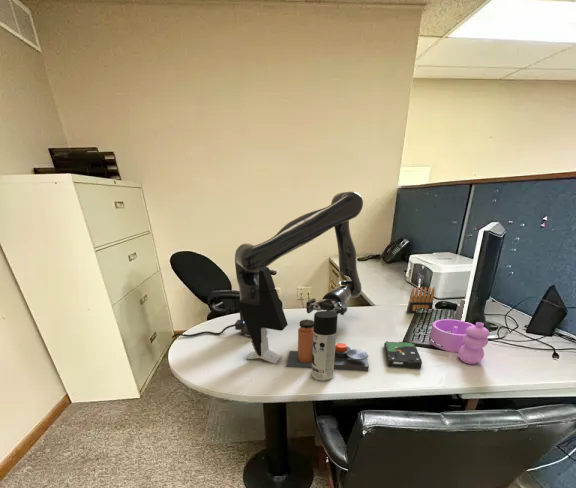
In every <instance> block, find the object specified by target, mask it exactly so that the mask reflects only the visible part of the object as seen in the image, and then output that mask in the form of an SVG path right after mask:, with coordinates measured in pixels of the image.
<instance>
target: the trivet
mask: <svg viewBox="0 0 576 488" xmlns="http://www.w3.org/2000/svg"><path fill="white" fill-rule="evenodd" d="M286 368H299V369H301V368H302V369H312V362H309V363H304V362H301V361H299V360H298V350H289V353H288V357H287V361H286Z"/></svg>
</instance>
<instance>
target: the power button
mask: <svg viewBox="0 0 576 488" xmlns="http://www.w3.org/2000/svg"><path fill="white" fill-rule="evenodd" d="M347 346H348V345H347V344H346V343H343V342H338V343H336V351H338V352H345V351H346V350H347Z"/></svg>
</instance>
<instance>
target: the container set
mask: <svg viewBox="0 0 576 488" xmlns="http://www.w3.org/2000/svg"><path fill="white" fill-rule="evenodd" d="M484 325H485V323H484V322H481V321H477V322H475V324H473V323H471V322H465V321H460V320H454V318H453V319H452V318H442V319H438V320H435V321H433V322H432V325H431V331H430V336H429V339H428V341H429V343H430V344H431V345H432V346H433V347H435V348H437V349H440V350H443V351H446V352H451V353H457V355H458V358H459V359H460V360H461V362H463V363H465V364H468V365H475V364H478V363H480V362H481V361H482V360H483V359H484V357H485V351H484V349H483V348H485V347H486V346H487V345H488V343H489V338H488V337H489V336H490V331H489V329H488V328H486V327H484ZM445 331H451V332H452V333H449V332H445ZM430 338H431V339H432V340H433V341H434V342H436V343H437V344H440V345H441V346H443V347H441V346H439V345H437V344H435V343H433V342H432V341H431V340H430Z"/></svg>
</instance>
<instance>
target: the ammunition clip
mask: <svg viewBox="0 0 576 488" xmlns="http://www.w3.org/2000/svg"><path fill="white" fill-rule="evenodd" d="M431 287H432V286H429V287H428V288H427V286H425V287H424V288H423V286H420V289H419V286H417V287H416V289H415V286H413V287H412V288H411V292H410V295H409V301H408V304H407V307H406V313H407V314H417V313H416V310H417V309H420V308H422V309H432V310H433V307H434V299H435V291H436V288H435V286H433V287H432V288H431Z"/></svg>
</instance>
